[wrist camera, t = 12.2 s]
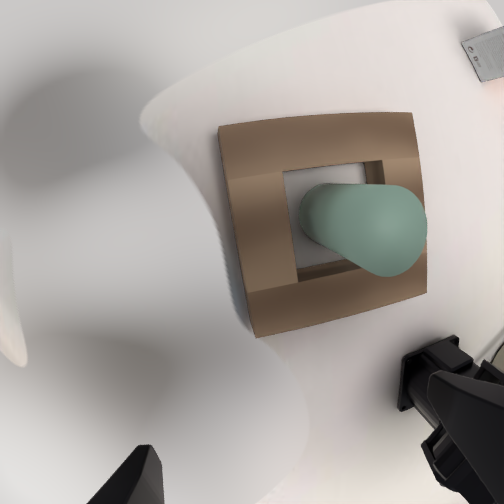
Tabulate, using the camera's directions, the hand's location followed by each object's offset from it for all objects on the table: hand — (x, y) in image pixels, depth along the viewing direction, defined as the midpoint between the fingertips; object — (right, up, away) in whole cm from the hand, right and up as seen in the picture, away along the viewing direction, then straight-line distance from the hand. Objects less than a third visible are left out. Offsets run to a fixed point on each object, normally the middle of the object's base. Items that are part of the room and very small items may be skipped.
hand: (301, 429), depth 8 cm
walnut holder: (+3, +8, +12) cm, 15 cm away
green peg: (+4, +8, +12) cm, 15 cm away
